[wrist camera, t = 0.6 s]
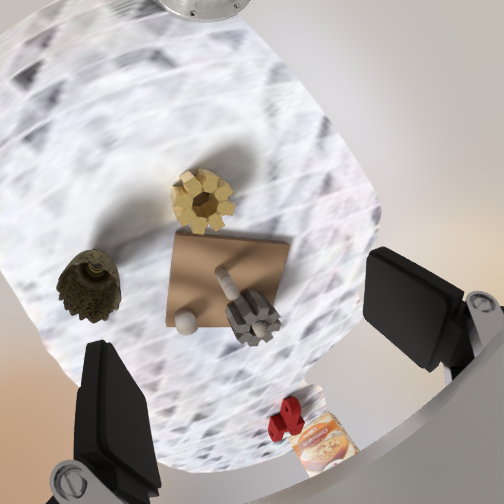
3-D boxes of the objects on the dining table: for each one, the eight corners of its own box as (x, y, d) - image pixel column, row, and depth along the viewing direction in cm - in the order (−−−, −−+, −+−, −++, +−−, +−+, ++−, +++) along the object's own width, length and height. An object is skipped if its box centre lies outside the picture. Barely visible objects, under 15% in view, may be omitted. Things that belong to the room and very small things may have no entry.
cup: (97, 223, 31) (85, 248, 24) (135, 264, 35) (134, 297, 28) (61, 260, 30) (44, 292, 24) (98, 296, 34) (92, 333, 27)
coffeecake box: (327, 410, 70) (362, 459, 53) (334, 415, 74) (367, 460, 57) (286, 438, 70) (315, 488, 53) (296, 441, 74) (324, 487, 57)
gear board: (175, 231, 35) (182, 255, 29) (286, 242, 41) (311, 263, 35) (165, 321, 40) (171, 355, 33) (263, 321, 46) (281, 349, 40)
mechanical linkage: (291, 423, 66) (299, 436, 62) (267, 430, 64) (274, 445, 60) (301, 389, 60) (311, 404, 56) (274, 398, 57) (283, 414, 53)
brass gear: (160, 188, 32) (162, 197, 28) (206, 158, 32) (216, 162, 28) (189, 230, 35) (195, 245, 31) (232, 201, 36) (245, 212, 32)
